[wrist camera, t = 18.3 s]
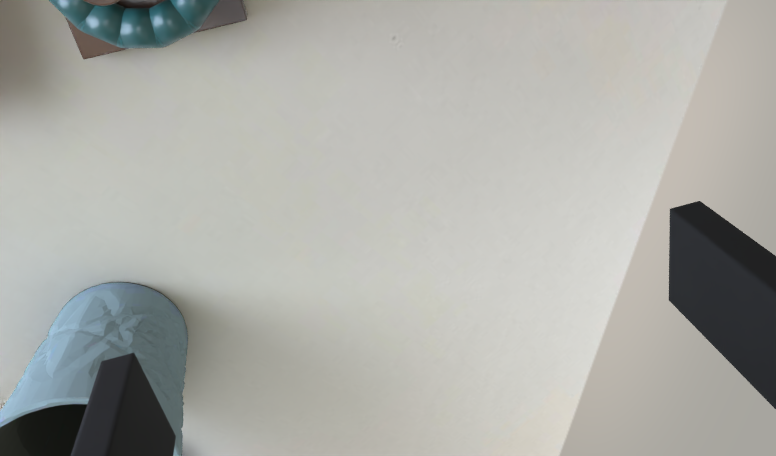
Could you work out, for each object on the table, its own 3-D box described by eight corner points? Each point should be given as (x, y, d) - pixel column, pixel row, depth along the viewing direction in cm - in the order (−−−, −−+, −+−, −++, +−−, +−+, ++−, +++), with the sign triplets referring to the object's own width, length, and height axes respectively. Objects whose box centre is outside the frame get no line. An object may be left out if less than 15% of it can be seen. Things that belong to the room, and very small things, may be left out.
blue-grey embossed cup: (222, 307, 46) (212, 433, 35) (162, 411, 49) (136, 554, 39) (74, 250, 42) (13, 372, 32) (18, 366, 45) (-54, 512, 35)
